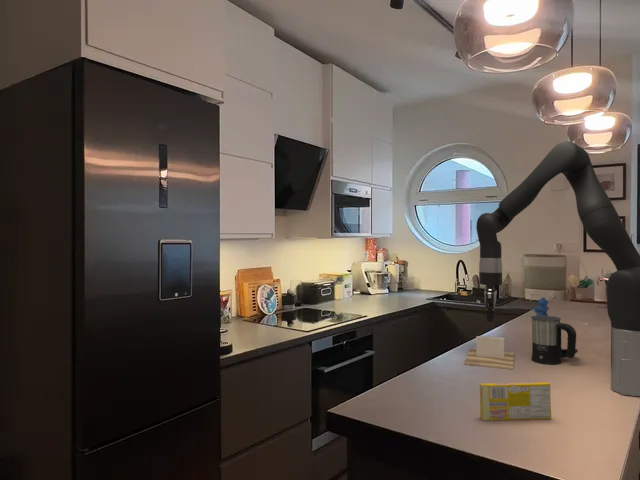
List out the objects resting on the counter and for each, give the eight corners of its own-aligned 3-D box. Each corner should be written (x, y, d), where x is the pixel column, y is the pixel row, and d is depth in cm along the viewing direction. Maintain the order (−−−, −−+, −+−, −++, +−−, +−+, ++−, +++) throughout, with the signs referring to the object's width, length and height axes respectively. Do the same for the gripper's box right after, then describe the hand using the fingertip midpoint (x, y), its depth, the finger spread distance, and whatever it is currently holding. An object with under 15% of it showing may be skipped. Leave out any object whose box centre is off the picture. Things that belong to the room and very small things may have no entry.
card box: (504, 358, 160) (504, 339, 159) (476, 355, 163) (476, 337, 163) (504, 356, 162) (504, 337, 162) (477, 354, 165) (477, 335, 165)
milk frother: (529, 362, 157) (529, 318, 157) (533, 352, 171) (533, 311, 170) (578, 368, 150) (578, 322, 150) (577, 357, 164) (578, 314, 164)
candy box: (547, 416, 111) (547, 381, 111) (551, 419, 109) (551, 384, 109) (479, 417, 110) (479, 382, 110) (482, 421, 108) (482, 385, 108)
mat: (513, 369, 148) (513, 367, 148) (464, 364, 154) (464, 362, 154) (513, 354, 167) (514, 352, 167) (469, 350, 173) (469, 349, 173)
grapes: (536, 319, 235) (536, 295, 235) (551, 321, 230) (551, 296, 230) (529, 322, 226) (529, 298, 226) (544, 324, 222) (544, 299, 221)
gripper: (501, 272, 154) (501, 324, 154) (502, 269, 167) (502, 317, 167) (477, 272, 157) (477, 322, 157) (480, 269, 170) (480, 315, 170)
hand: (490, 319), depth 162 cm, fingers open, 5 cm apart
